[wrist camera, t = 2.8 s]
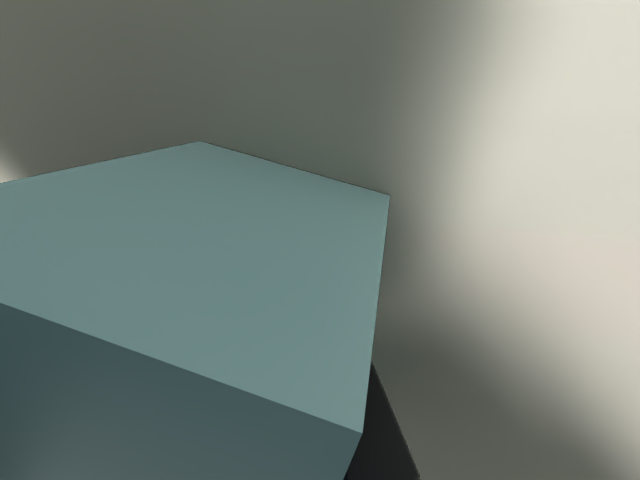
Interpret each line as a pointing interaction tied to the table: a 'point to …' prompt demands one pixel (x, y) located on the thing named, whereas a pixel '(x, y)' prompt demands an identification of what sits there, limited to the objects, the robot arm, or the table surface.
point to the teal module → (186, 319)
